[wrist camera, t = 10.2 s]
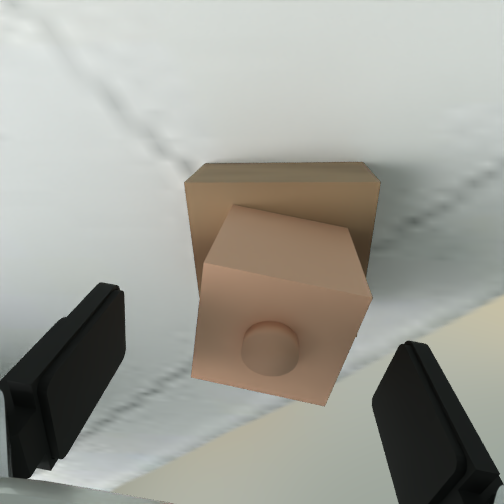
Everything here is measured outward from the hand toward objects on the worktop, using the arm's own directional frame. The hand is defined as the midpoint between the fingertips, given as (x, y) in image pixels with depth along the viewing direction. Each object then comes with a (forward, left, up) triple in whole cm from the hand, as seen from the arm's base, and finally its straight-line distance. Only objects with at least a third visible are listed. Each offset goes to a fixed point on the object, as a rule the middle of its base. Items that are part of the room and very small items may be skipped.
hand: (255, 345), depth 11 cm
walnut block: (0, -1, -9) cm, 9 cm away
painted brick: (0, 0, -5) cm, 5 cm away
